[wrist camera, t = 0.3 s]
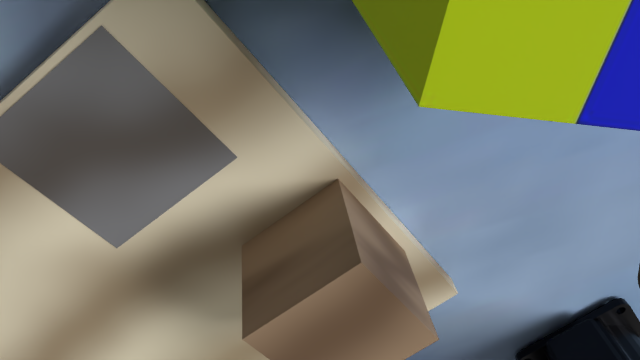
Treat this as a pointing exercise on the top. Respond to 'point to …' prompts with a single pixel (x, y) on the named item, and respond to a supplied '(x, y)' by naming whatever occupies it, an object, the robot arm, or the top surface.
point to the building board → (154, 189)
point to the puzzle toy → (516, 56)
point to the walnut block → (331, 286)
